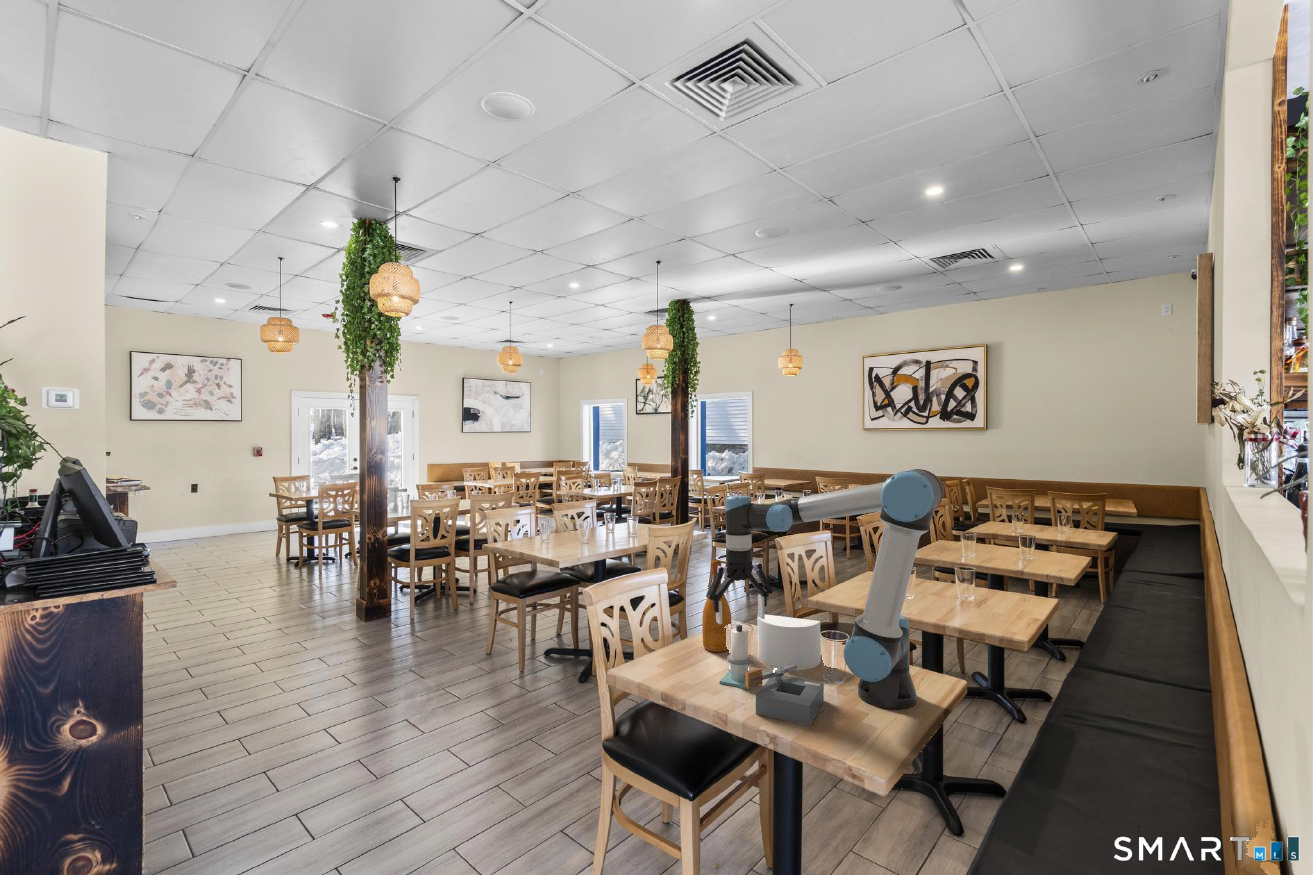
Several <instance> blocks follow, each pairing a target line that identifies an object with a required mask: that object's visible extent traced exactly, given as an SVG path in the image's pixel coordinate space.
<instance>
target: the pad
mask: <svg viewBox="0 0 1313 875" xmlns="http://www.w3.org/2000/svg"><path fill="white" fill-rule="evenodd" d="M719 684H720V685H726V686H729V687H730V686H731V687H735V688H740V689H746V690H750V689H751V688H747V687H745V681H742V682H738V681H734V680H732V679H731V669H730V670H729V671H728V672H726V674H725V675H724V676H723V677H722V678H721V679H720V680H719Z"/></svg>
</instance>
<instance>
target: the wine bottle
mask: <svg viewBox="0 0 1313 875" xmlns="http://www.w3.org/2000/svg"><path fill="white" fill-rule="evenodd" d="M717 566H721V567H722V561H721V560H720V559H712V561H711V573H712V582H713V579H714V577H715V574H716V567H717ZM712 582H711V583H712ZM721 584H722V581H721V582H720V584H719V586H718V588H719V587H720V585H721ZM709 589H710V588H709ZM709 589H707V591H706V594H705V597H706V600H705V603H704V607H703V609H702V619H701V620H702V624H701V626H702V646H703V648H704V649H705V650H707V651H709V652H713V653H723V652H727V651H728V650H727V647H726V628H724V627H725V626H726V625H728V624H731V625H732V612H731V608H730V604H729V602H728V600H727V597H726V595H725V593H724V594H723V596H722V597H721V599H720V601H722V624H719V623H717V622H716V612H714V610H713V600H710V599H708V598H707V593H708V591H709ZM717 590H718V589H717ZM726 650H727V651H726Z"/></svg>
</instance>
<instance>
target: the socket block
mask: <svg viewBox="0 0 1313 875" xmlns="http://www.w3.org/2000/svg"><path fill="white" fill-rule="evenodd" d="M824 689H825V685H824V682H823V681H818V680H815V679H814V680H813V679H807V678H802V677H798V676H791V675H786V674H784V675H783V676H775V677H771V678H768V679H767V681H766V682H765V683H764V684H763V686H762V687H761V688H760V689H759V690H758V691H757V693H756V694H755V715H758V716H762V717H766V718H767V717H768V718H771V719H775V720H776V719H777V720H781V721H784V722H785V721H786V722H790V723H794V724H799V725H804V726H808V727H810V726H811V725H812V723H813V721H814V719H815V717H816V715H817V714H818V712H819V710H820V708H821V706H822V704H823V703H824V701H825V700H824V699H825V697H824V696H825V695H824V694H825V693H824V692H825V690H824Z"/></svg>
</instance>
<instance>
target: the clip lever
mask: <svg viewBox="0 0 1313 875" xmlns="http://www.w3.org/2000/svg"><path fill="white" fill-rule="evenodd" d="M793 671H794V672H795V671H798V670H797V665H795V664H792V665H789V666H785V667H780V666H775V667H772V670H770V671H765V672H763V668H761V667H757V668H753V669H751V670H748V671H746V672H745V687H747V688H750V689H751V688H755V687H757V686H760V685H763V681H764V680H769V678H771V677H775V676H783V675H785V674H787V673H791V672H793Z"/></svg>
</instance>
